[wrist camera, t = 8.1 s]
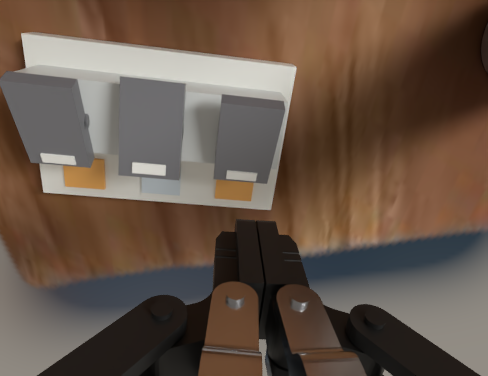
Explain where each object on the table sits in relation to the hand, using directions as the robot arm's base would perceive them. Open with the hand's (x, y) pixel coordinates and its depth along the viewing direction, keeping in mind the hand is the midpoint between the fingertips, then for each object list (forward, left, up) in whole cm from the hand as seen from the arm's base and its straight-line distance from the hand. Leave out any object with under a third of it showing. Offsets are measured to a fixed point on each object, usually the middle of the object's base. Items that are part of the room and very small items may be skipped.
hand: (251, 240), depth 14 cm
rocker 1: (+13, +1, -15) cm, 20 cm away
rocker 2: (-1, +1, -15) cm, 15 cm away
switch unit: (+6, +3, -22) cm, 23 cm away
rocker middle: (+6, +1, -15) cm, 16 cm away
